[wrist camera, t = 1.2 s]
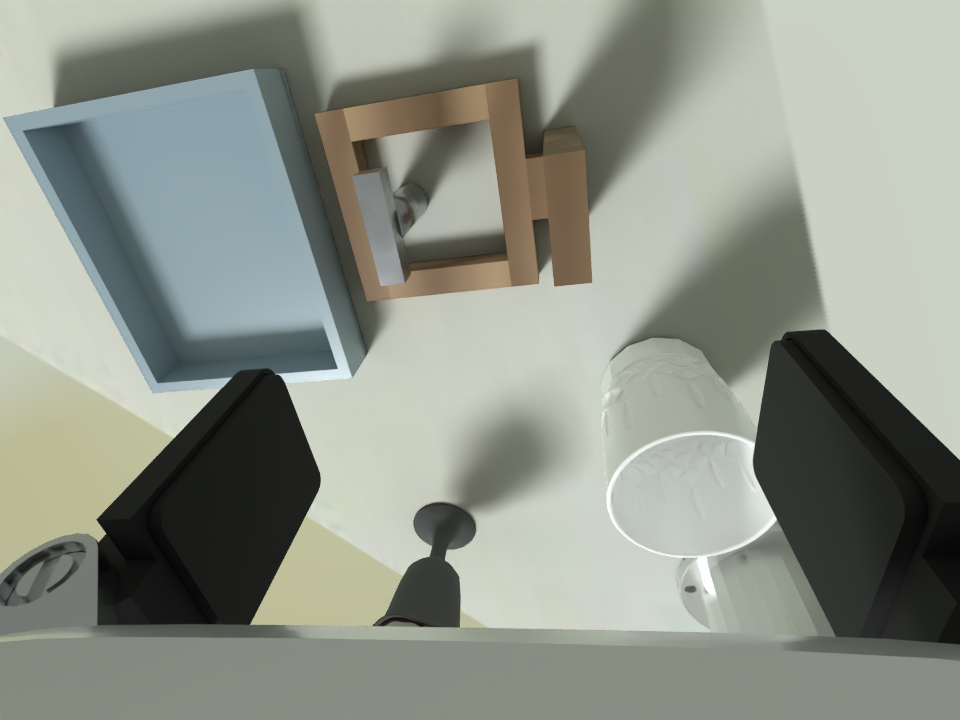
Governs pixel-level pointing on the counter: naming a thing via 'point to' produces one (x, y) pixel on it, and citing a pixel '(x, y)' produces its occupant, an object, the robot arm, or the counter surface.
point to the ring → (521, 181)
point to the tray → (200, 228)
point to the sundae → (432, 573)
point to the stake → (388, 221)
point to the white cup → (678, 453)
